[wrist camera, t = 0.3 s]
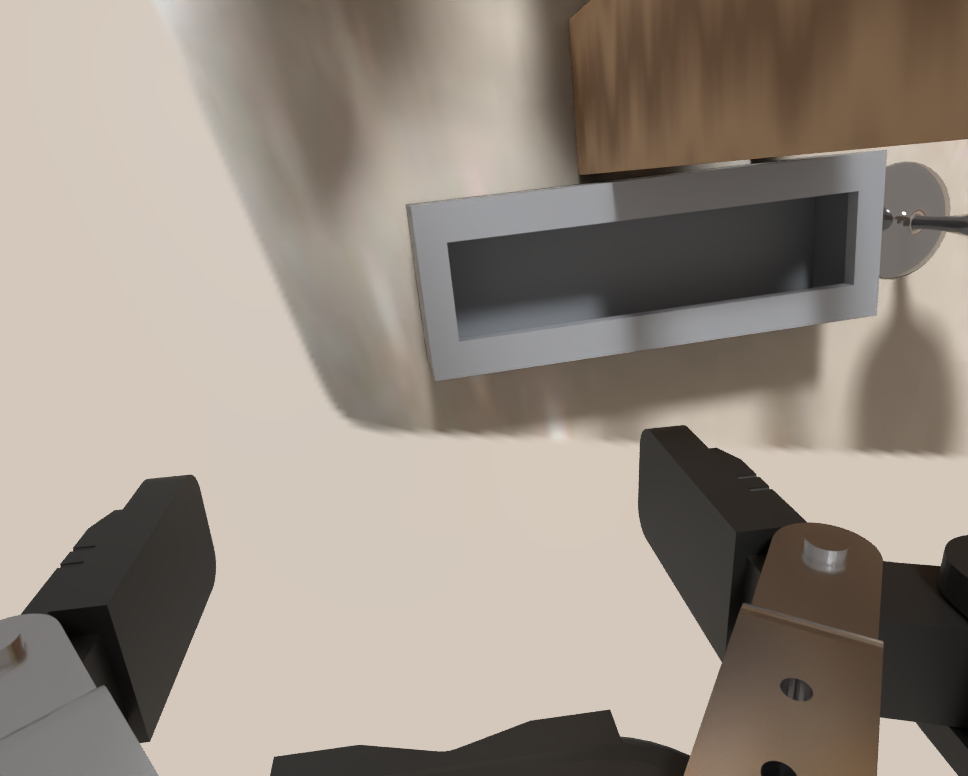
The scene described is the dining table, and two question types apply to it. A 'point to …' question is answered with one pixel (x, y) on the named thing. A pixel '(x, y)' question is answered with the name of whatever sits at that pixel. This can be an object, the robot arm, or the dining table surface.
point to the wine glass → (914, 218)
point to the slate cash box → (646, 261)
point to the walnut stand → (763, 78)
